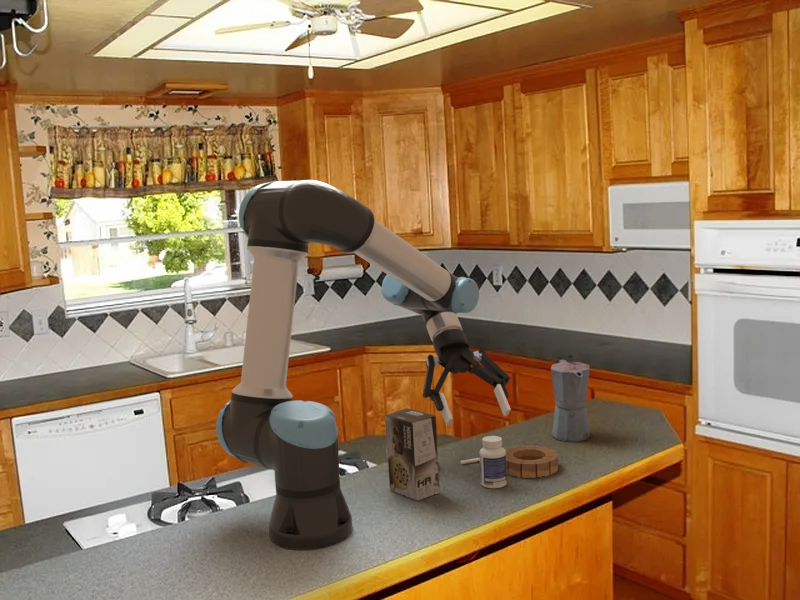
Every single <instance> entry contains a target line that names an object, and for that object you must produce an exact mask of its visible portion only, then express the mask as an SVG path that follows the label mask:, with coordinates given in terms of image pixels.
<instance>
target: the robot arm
mask: <svg viewBox="0 0 800 600" xmlns="http://www.w3.org/2000/svg"><path fill="white" fill-rule="evenodd" d="M238 222H239V226H240V228H241V229H242V232H243V234H244V235H245V236H246V237H247V245H246V249H247V250H248V251H249V253H250V255H252V257H253V265H252V272H251V273H252V274H251V283H250V284H251V285H250V292H249V293H250V294H249V301H248V311H247V312H248V313H247V319H246V328H245V329H246V330H245V339H244V347H243V348H244V349H243V359H242V367H241V377H240V382H239V384H237V385H236V386H235V387H234V388H233V389H232V390H231V395H230V396H231V397H230V400H228V401H227V402H226V403H225V404H224V407H223V408H221V409H220V411H219V413H218V415H217V418H216V424H215V430H216V436H217V440H218V443H219V445H220V446H221V448H222V449H223V450H224V452H226V453H227V455H230V456H231V457H233V458H236V460H239V461H240V462H244V463H247V464H252V465H256V466H259V467H262V468H265V469H268V470H273V471H274V483H275V498H274V502H273V506H272V510H271V515H270V518H269V521H268V532H269V539H270V541H271V542H272V543H274V545H277V546H279V547H282V548H285V549H290V548H291V550H312V549H313V550H315V549H318V548H319V549H320V548H325V547H329V546H331V545H334V544H337V543H339V542H342V541H343V540H345V539H346V538H348V537H349V536H350V535H351V533H352V531H353V518H352V513H351V511H350V509H349V506H348V503H347V502H346V501H347V500H346V499H345V496H344V494H343V492H342V489H341V481H340V479H341V478H340V477H341V476H340V475H341V474H340V459H339V458H340V457H339V455H340V453H339V438H338V436H339V434H338V433H339V431H338V426H337V423H336V422H337V421H336V416H335V413H334V412H333V410H332V409H331V408H330V407H328V406H327V405H325V404H323V403H319V402H316V401H311V400H306V401H304V400H302V399H301V400H297V399H296V400H293V398H294V397H293V396H294V395H293V394H292V393H291V391H290V390H289V389H288V387H287V378H288V371H289V370H288V369H289V360H290V359H289V358H290V352H291V351H290V350H291V349H290V347H291V342H292V341H291V338H292V332H293V321H294V312H295V301H296V292H297V285H298V284H297V283H298V276H299V275H298V272H299V265H300V262H302V260H304V259H305V258H306V257H307V256H308V254H309V253H308V252H309V245H310V244H320V245H325V246H329V247H333V248H335V249H337V250H338V251H340V252H342V253H344V254H355V255H356V256H358V257H360V258H361V259H363V260H365V261H366V262H368V263H369V264H370V265H372V266H373V267H375V268H377V269H378V270H380V271H382V273H385V274H386V275H385V276H384V278H383V279H382V284H381V289H380V290H381V294H382V297H383V299H385V301H387V302H389V303H391V304H393V306H398V307H401V308H403V309H406V310H408V311H411V312H412V313H415V314H417V315H420V316H421V317H422V319H423V322H424V324H425V327H426V330H427V333H428V335H429V338H430V340H431V341H432V346H433V348H434V352H435V353H436V356H434V355H432V354H428V356H427V358H426V361H425V366H426V374H425V378H424V386H423V391H422V398H424V399H427V398H429V399H430V401H432V402H433V403H434V406H435V409H436V411H437V412H441V415H442V417H443V420H444V423H445V426H446V427H447V426H451V424H452V421H453V415H452V413H451V410H450V407H449V405H448V402H447V399H446V397H445V393H444V392H440V391H441V389H442V388H443V386H444V383H445V381H446V379H447V377H448V375H449V373H451V374H452V375H456V374H458V373H459V374H464V373H465V374H466V373H467V372H468V373H469V374H472V375H475V376H476V377H478V378H479V379H481V380H482V381H484V382H485V383H487V384H489V386H491V387H493V388H494V390H493V392H494V395H495V398H496V400H497V403H498V405H499V407H500V411H501V413H502V415H503V417H507V416H509V414H510V412H511V410H512V407H511V406H510V404H509V402H508V398H509V392H508V391H507V388H506V386H507V385H508V384H509V382H510V381H511V377H510V376H509V375H508V374H507V373H506V372H505V371H504V370H503V369H502V368H501V366H499V365H498V364H497V363H496V362H495V361H494V360H493V359H492V358H491V357H490V356H488V354H487V352H486V351H485V349H484V348H483V347H480V348H478V350H476V351H472V349H470V346H469V342H468V339H467V337H466V334H465V333H464V331H463V327H462V324H461V322H460V320H459V318H458V317H459V316H457V314H459V313H460V314H468V313H472V311H474V310H475V308H476V307H477V305H478V302H479V300H480V289H479V286H478V284H477V282H476V281H475V280H474V279H472V278H469V277H464V276H460V277H458V276H456V275H454V274H453V273H451V272H449V271H448V270H446V268H444V267H442V266H441V265H440V264H438V263H437V262H436V261H434V260H433V259H432V258H430V257H428V256H427V255H425V254H424V253H423V252H422V251H420V250H419V249H418V248H416V247H414V246H413V245H411V244H410V243H409V242H407V241H406V240H404V239H403V238H402V237H400V236H399V235H397V234H396V233H395V232H393V231H392V230H390V228H388V227H386V226H384V225H383V224H382V223H381V222H379V221H378V220H376V216H375V214H374V212H373V210H372V209H370V208H369V207H368V206H366V205H365V204H363V203H362V202H361V201H360V200H357V199H356V198H354V197H353V196H351V195H349V194H348V193H347V192H345V191H343V190H341V189H339V188H337V187H336V186H333V185H331V184H329V183H326V182H323V181H320V180H316V179H315V180H314V179H303V180H281V181H279V180H278V181H277V180H274V181H268V182H265V183H261V184H258V185H256V186H254V187H252V188H251V189H250V190H249V191H248V192H246V194H245V195H244V197H243V199H242V200H241V203H240V207H239V211H238ZM475 359H476V360H475ZM437 364H438V365H440V366H441V367H442V368H443V371H442V372H441V374H440V376H439V379H438V381H437V383H436V385H435V386H434V389H432V383H433V377H434V372H435V367H436V366H437Z"/></svg>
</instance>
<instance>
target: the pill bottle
mask: <svg viewBox="0 0 800 600" xmlns="http://www.w3.org/2000/svg"><path fill="white" fill-rule="evenodd" d="M481 441H482V447H481V449H480V450H479V458H480V461H479V469H480V470H479V471H480V485H482V487H485V488H488V489H500V488H503V487H505V486H506V485H507V484H508V478H507V477H508V474H507V468H506V451H505V450H506V449H505V448H504V447H503V438H502V437H500V436H497V435H487V436H484V437H482V439H481Z"/></svg>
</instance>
